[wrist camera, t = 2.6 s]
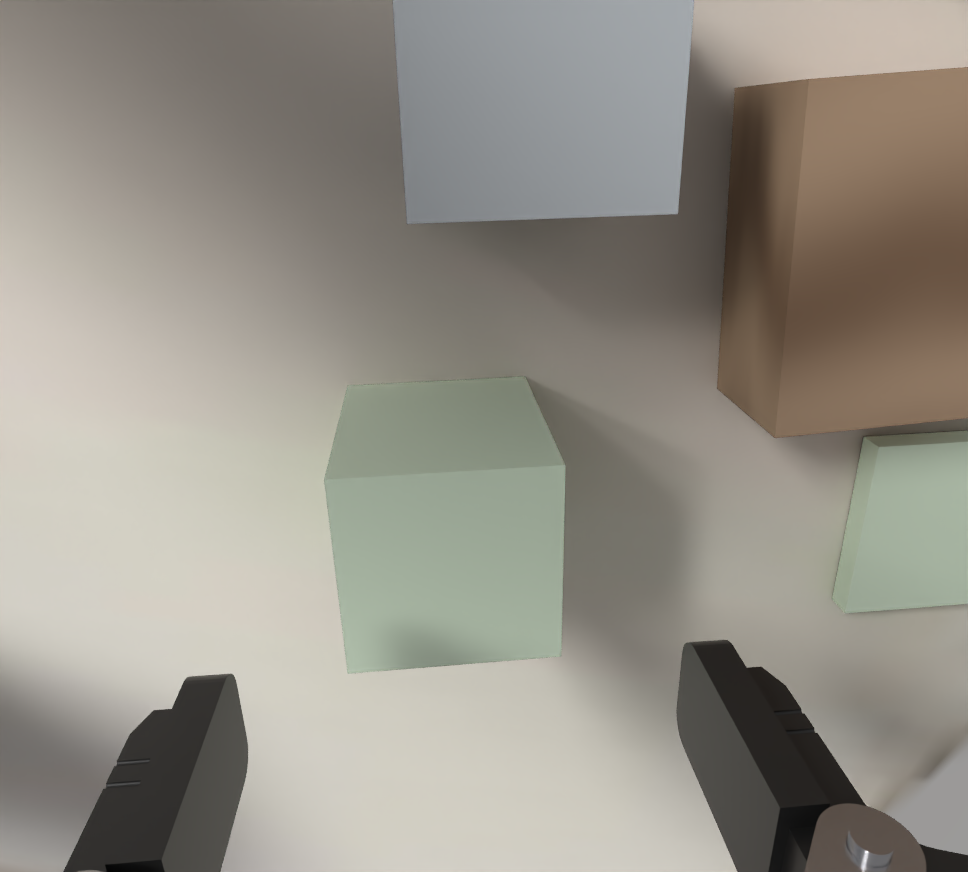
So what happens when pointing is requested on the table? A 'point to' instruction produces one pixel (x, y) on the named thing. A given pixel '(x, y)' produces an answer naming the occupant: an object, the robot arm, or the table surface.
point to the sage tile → (907, 525)
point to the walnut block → (848, 253)
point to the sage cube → (446, 524)
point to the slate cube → (541, 107)
